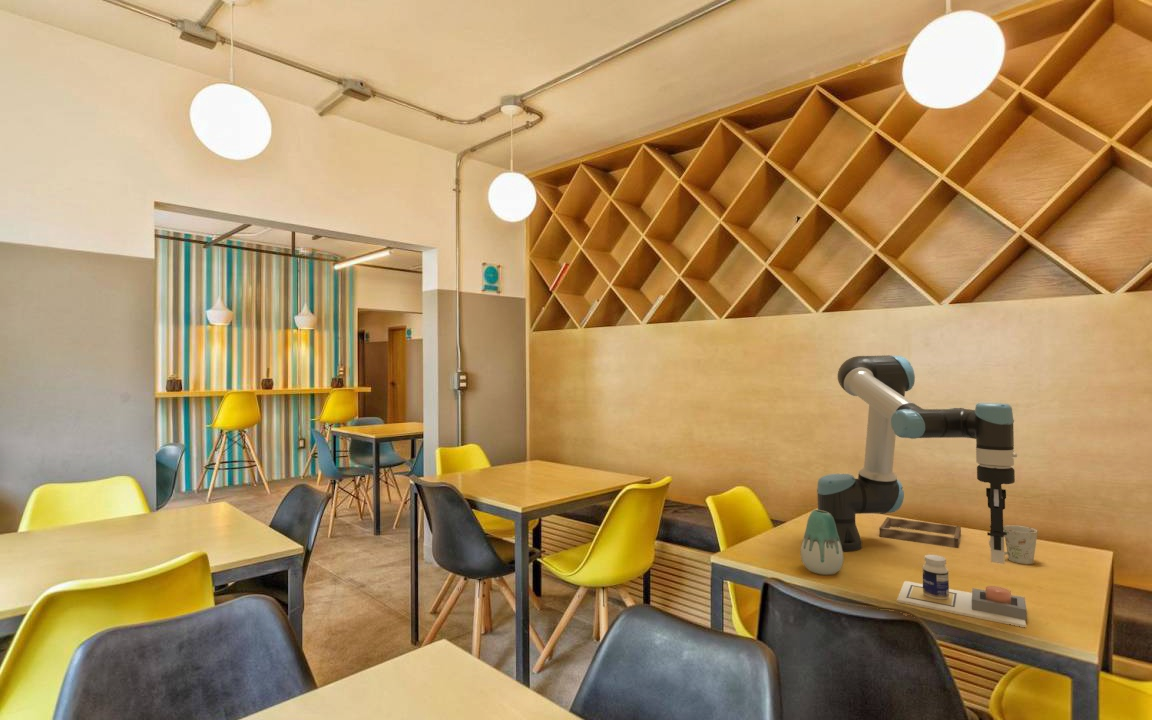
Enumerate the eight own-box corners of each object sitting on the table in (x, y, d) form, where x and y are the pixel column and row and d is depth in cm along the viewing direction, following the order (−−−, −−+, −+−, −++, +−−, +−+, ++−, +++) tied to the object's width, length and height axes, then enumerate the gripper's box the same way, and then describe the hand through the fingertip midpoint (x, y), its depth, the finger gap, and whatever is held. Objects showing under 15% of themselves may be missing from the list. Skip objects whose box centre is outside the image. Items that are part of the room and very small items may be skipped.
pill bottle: (917, 592, 151) (917, 554, 151) (938, 591, 152) (937, 553, 152) (933, 600, 146) (932, 561, 146) (954, 599, 146) (953, 560, 146)
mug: (1044, 566, 172) (1043, 533, 172) (997, 564, 175) (996, 531, 175) (1028, 557, 180) (1027, 525, 180) (983, 555, 183) (982, 523, 183)
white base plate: (897, 601, 147) (896, 590, 147) (904, 583, 160) (904, 572, 160) (1027, 628, 131) (1027, 615, 131) (1024, 604, 144) (1024, 592, 144)
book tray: (879, 536, 204) (879, 528, 204) (887, 525, 219) (887, 517, 219) (958, 548, 191) (958, 538, 191) (960, 535, 205) (960, 526, 206)
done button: (985, 603, 140) (985, 590, 140) (985, 596, 144) (985, 584, 145) (1011, 608, 138) (1011, 595, 138) (1010, 601, 142) (1010, 588, 142)
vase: (841, 567, 173) (840, 507, 174) (845, 580, 162) (844, 516, 163) (800, 563, 177) (799, 504, 177) (801, 575, 166) (800, 513, 166)
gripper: (1015, 471, 134) (1018, 572, 134) (1013, 463, 145) (1016, 557, 144) (976, 468, 139) (978, 566, 138) (977, 461, 149) (979, 552, 149)
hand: (997, 562), depth 141 cm, fingers closed
